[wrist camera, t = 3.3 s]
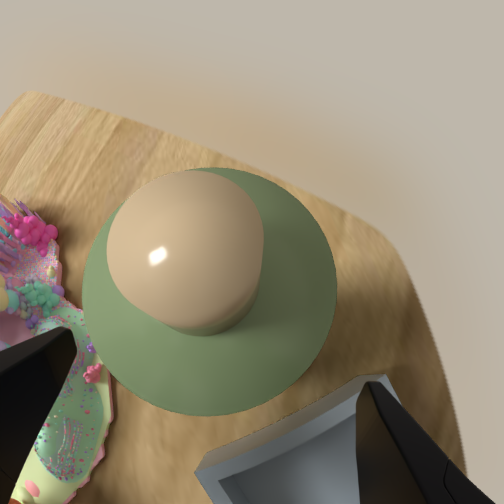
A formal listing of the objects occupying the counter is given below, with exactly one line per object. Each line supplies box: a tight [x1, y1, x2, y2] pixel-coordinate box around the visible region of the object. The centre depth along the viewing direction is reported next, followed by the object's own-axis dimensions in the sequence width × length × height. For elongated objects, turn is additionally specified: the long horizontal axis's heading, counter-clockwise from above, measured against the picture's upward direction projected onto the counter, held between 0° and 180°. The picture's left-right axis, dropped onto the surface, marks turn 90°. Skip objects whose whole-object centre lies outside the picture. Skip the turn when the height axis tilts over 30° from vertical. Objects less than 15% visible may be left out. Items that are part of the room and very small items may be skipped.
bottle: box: [82, 168, 337, 416], centre depth 11 cm, size 6×6×14 cm
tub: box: [194, 374, 402, 504], centre depth 12 cm, size 10×10×4 cm
